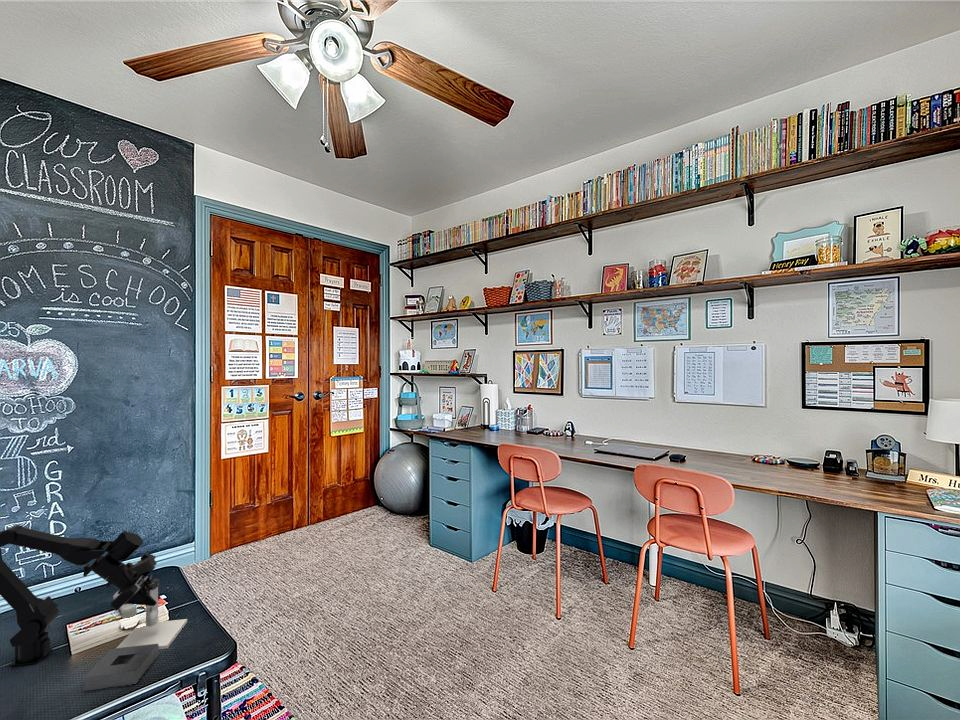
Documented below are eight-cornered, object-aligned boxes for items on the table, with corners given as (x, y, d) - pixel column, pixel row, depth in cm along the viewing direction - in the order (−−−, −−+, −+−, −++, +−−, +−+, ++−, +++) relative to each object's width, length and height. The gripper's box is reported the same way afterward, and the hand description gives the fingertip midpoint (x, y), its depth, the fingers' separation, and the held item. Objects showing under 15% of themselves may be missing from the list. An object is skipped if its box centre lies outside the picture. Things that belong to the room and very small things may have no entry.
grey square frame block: (83, 691, 118) (83, 677, 118) (111, 661, 130) (111, 648, 130) (136, 684, 120) (136, 671, 120) (158, 655, 132) (158, 643, 132)
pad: (113, 654, 133) (113, 651, 132) (138, 627, 146) (138, 623, 146) (167, 648, 135) (167, 645, 135) (187, 622, 149) (187, 618, 149)
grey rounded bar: (129, 586, 165) (140, 603, 147) (129, 606, 164) (141, 625, 146) (110, 592, 161) (120, 609, 143) (110, 611, 160) (120, 631, 143)
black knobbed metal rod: (145, 628, 138) (145, 585, 138) (144, 623, 141) (144, 581, 141) (160, 624, 141) (159, 581, 141) (158, 619, 143) (158, 577, 143)
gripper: (124, 562, 131) (169, 594, 134) (147, 538, 148) (186, 567, 152) (90, 594, 128) (137, 626, 132) (118, 566, 146) (159, 595, 149)
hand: (157, 601), depth 141 cm, fingers closed on black knobbed metal rod, 3 cm apart
